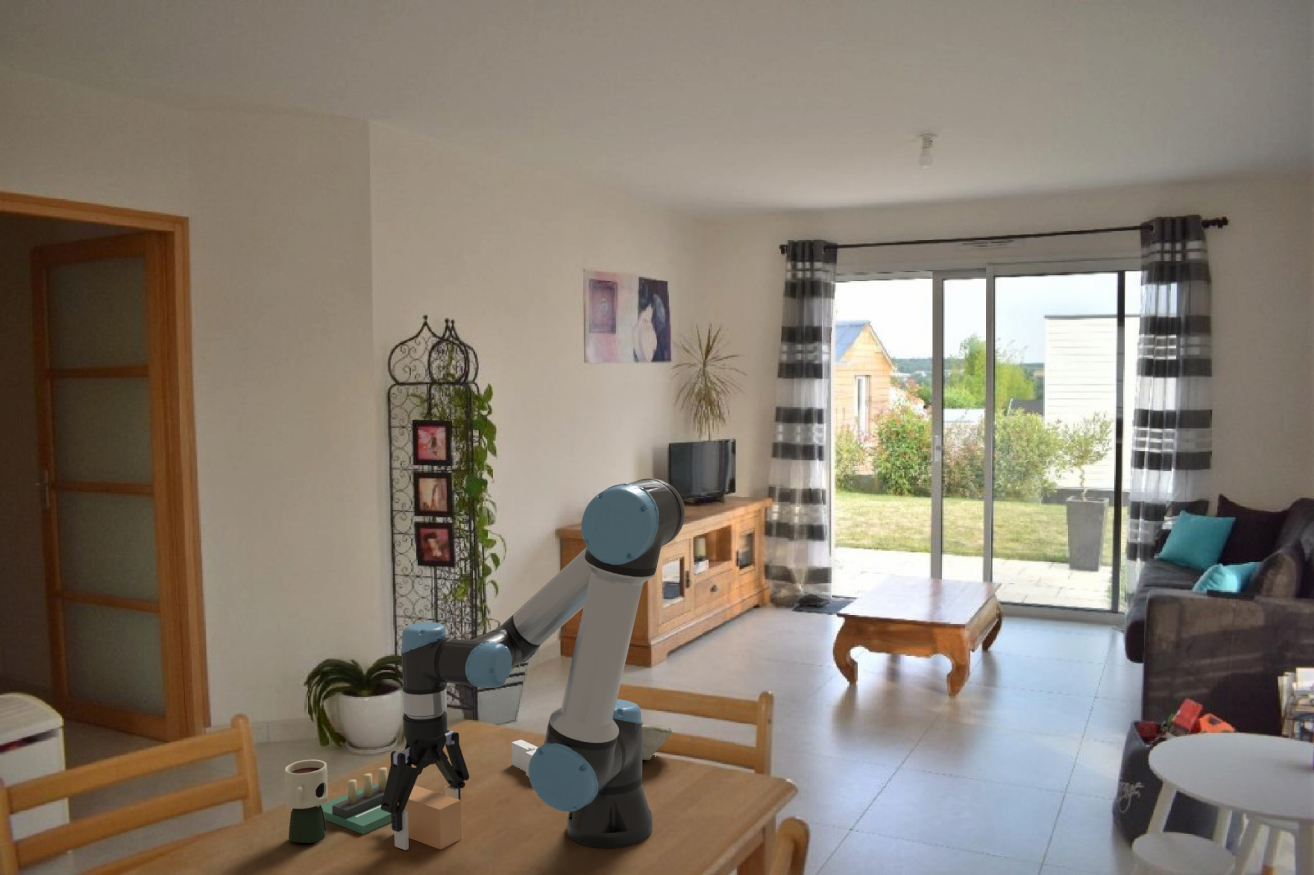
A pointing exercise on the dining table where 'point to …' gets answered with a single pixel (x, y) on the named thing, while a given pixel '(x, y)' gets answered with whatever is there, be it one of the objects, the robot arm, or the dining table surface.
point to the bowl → (653, 739)
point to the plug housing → (433, 818)
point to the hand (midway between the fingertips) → (427, 835)
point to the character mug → (306, 799)
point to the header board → (359, 821)
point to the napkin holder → (522, 754)
